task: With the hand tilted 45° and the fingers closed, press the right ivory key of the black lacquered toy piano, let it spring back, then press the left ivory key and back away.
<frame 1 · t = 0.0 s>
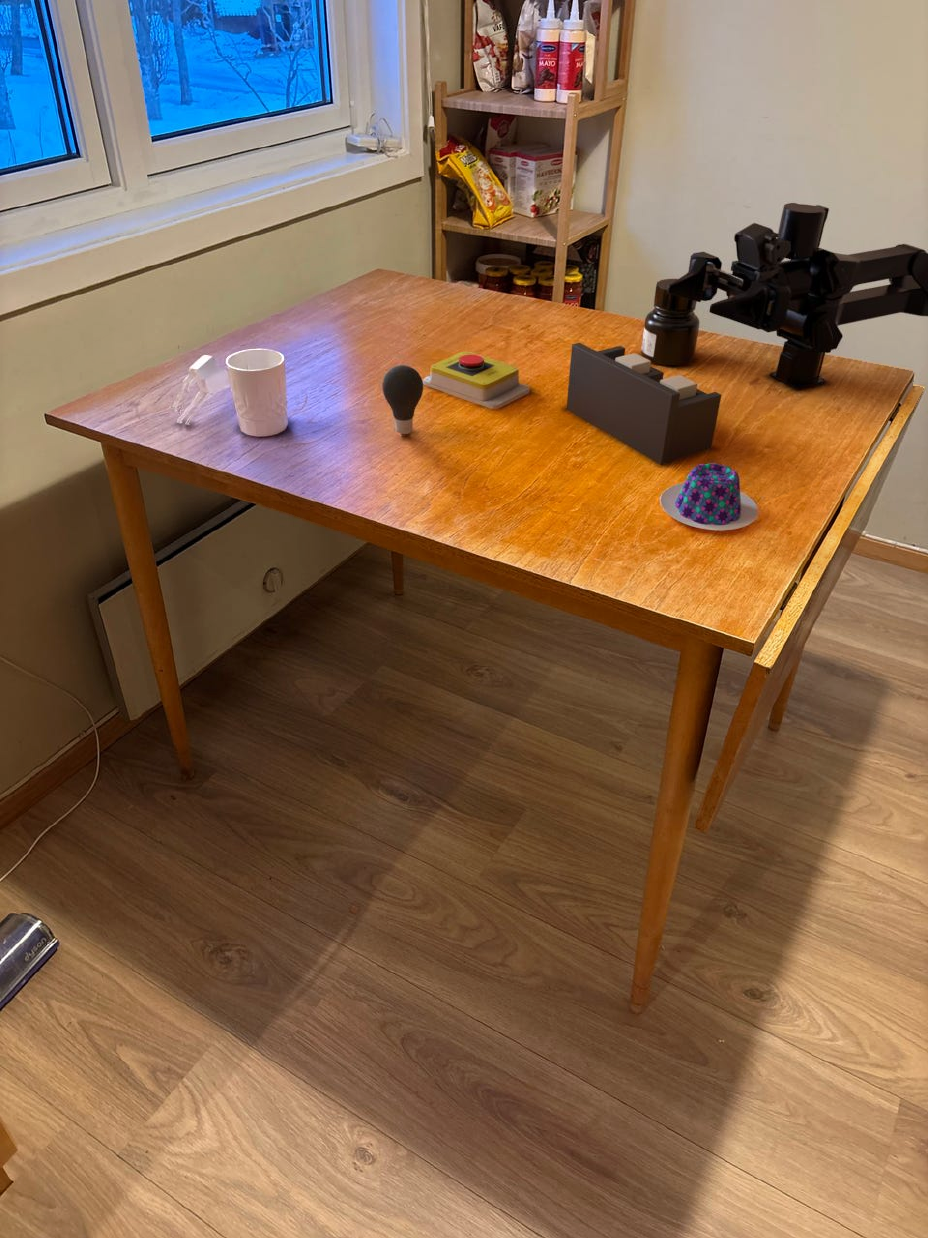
hand: (689, 298, 129), 17 cm above the table, tool horizontal, fingers open, 9 cm apart
emergency button: (475, 388, 144), on the table
piano section 2: (661, 439, 130), on the table
key 2: (677, 388, 127), point 7 cm above the table, slide at 0.1 cm
piano section 1: (618, 415, 137), on the table
white cup: (264, 428, 132), on the table
ink bottle: (666, 358, 155), on the table
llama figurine: (218, 404, 138), on the table
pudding: (707, 511, 115), on the table
light bulb: (404, 435, 131), on the table
key 1: (632, 365, 133), point 7 cm above the table, slide at 0.1 cm
piano case: (639, 427, 134), on the table
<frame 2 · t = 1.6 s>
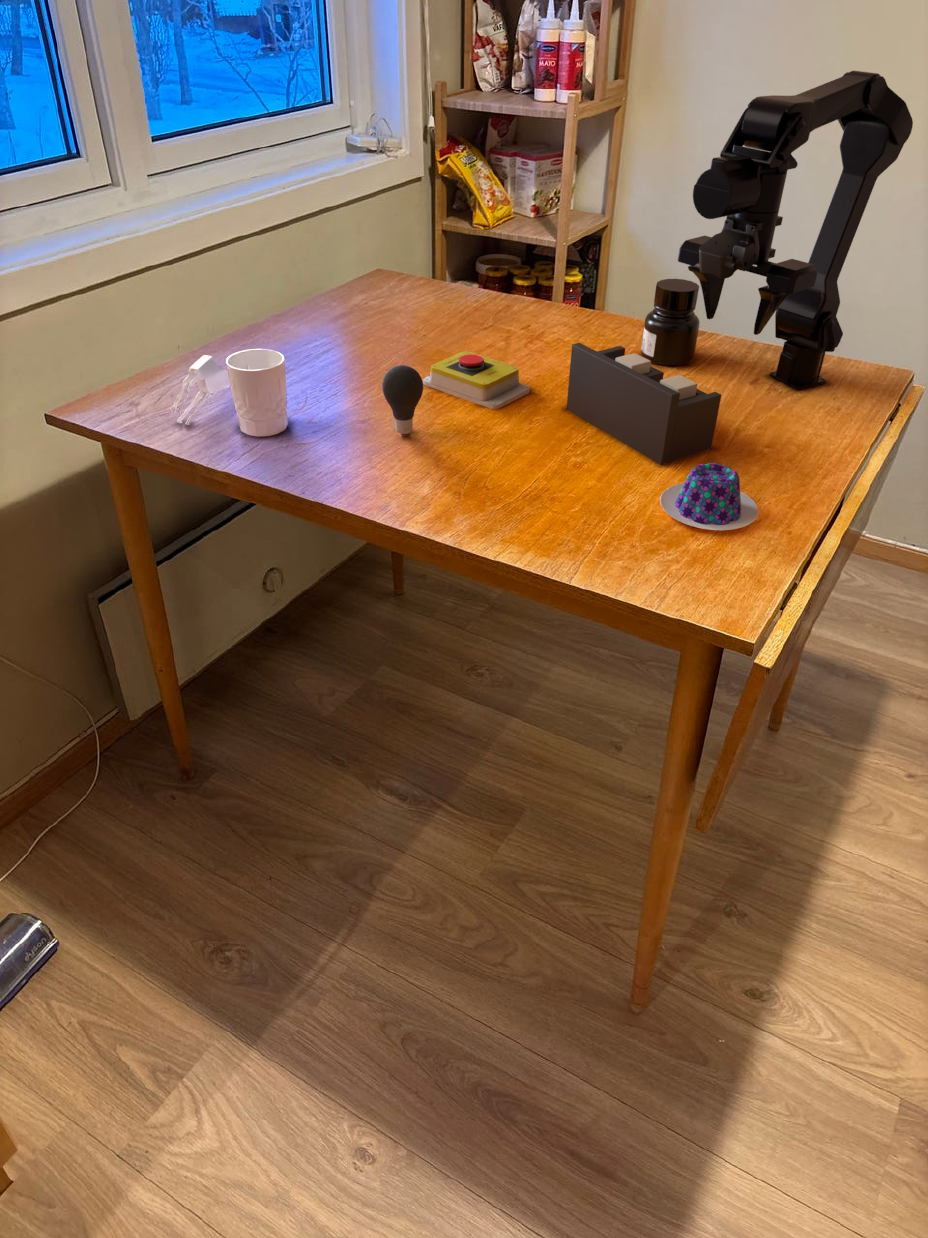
hand: (732, 326, 130), 13 cm above the table, tool pointing down, fingers open, 8 cm apart
nothing on the table moved.
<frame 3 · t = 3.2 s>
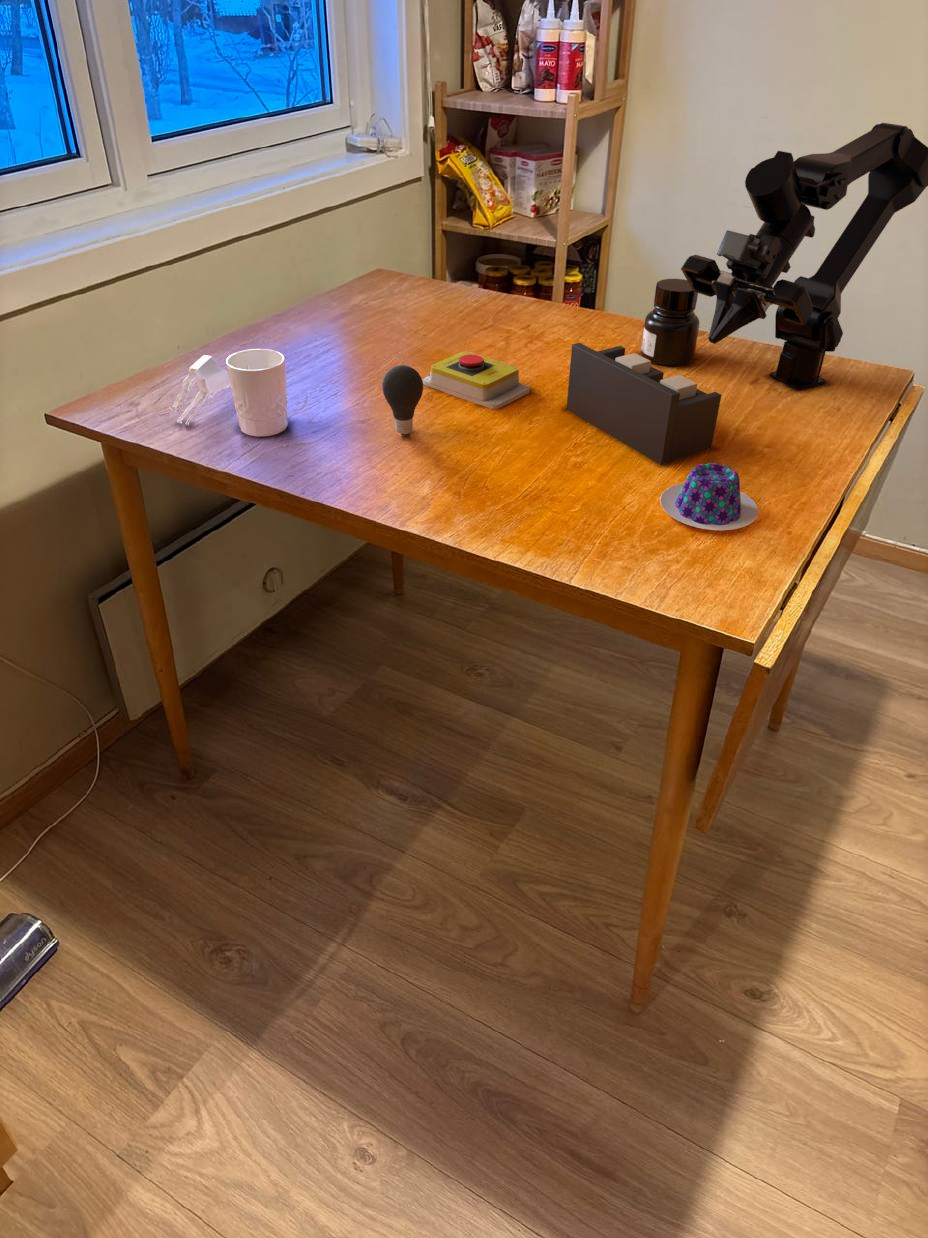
hand: (711, 341, 127), 12 cm above the table, tool tilted 45°, fingers closed
nothing on the table moved.
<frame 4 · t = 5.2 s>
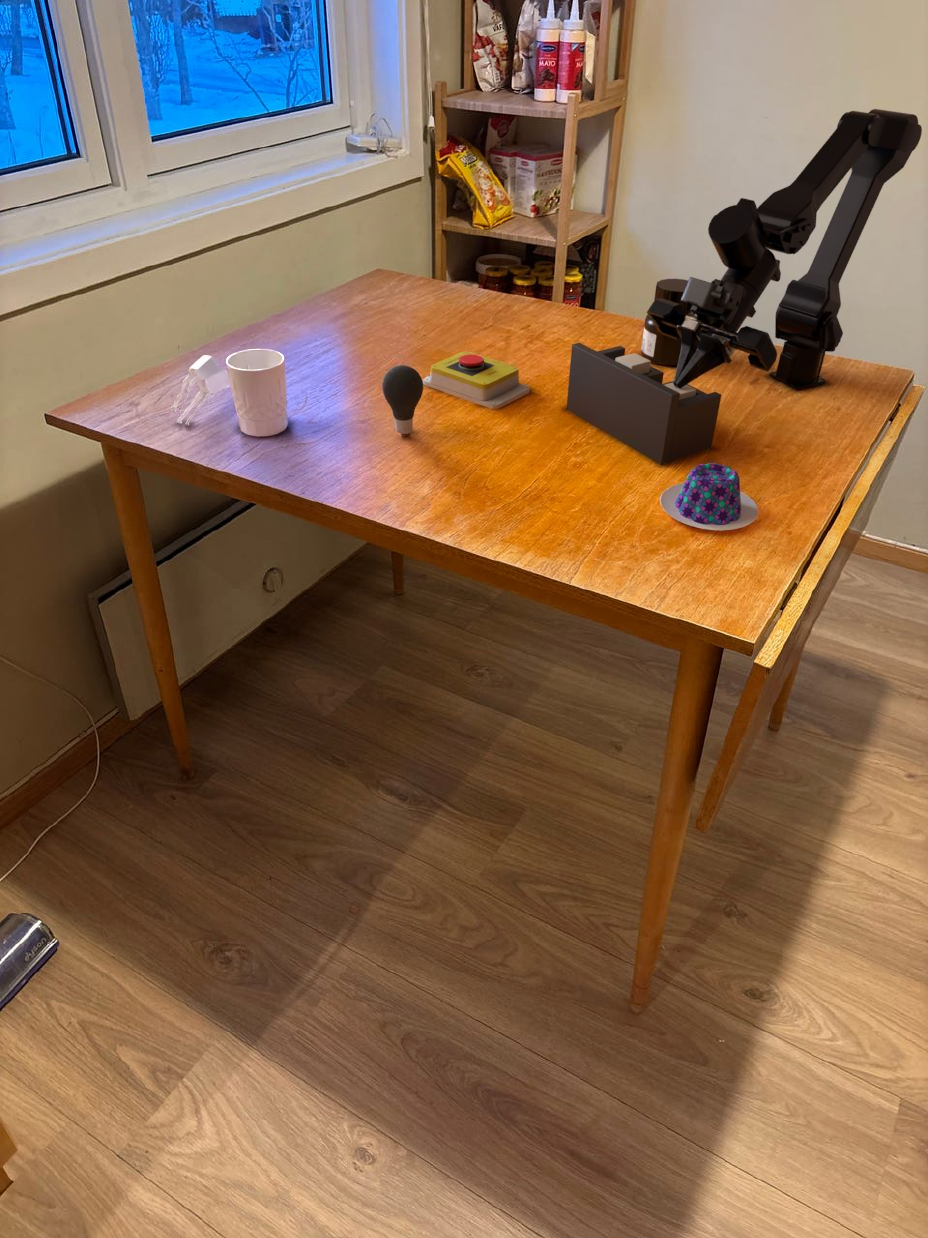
hand: (676, 386, 126), 8 cm above the table, tool tilted 45°, fingers closed, pressing on key 2
key 2: (676, 394, 127), point 6 cm above the table, slide at -0.8 cm, touching gripper
everything else where it was.
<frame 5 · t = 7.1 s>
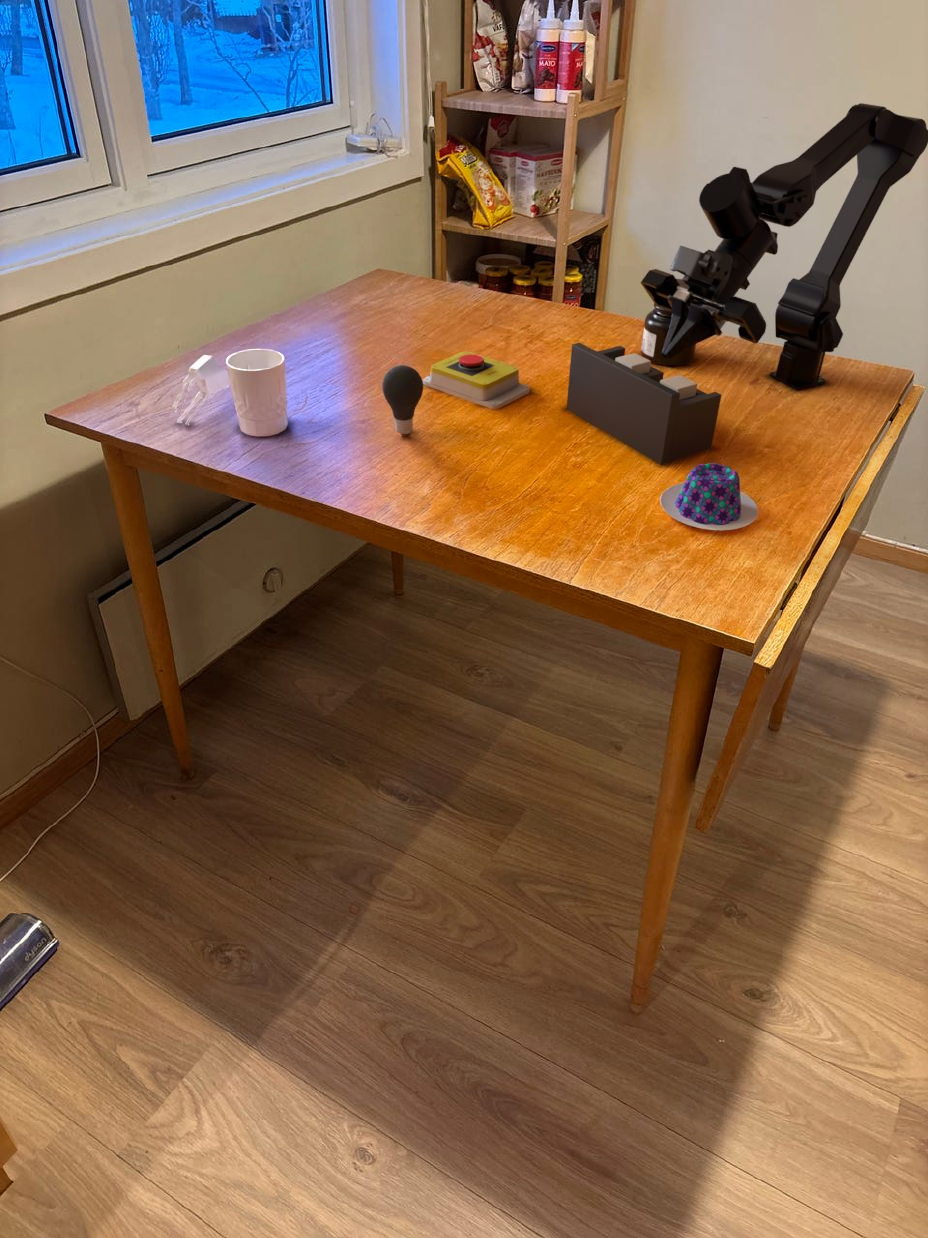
hand: (664, 356, 126), 11 cm above the table, tool tilted 45°, fingers closed
key 2: (677, 388, 127), point 7 cm above the table, slide at 0.1 cm
everything else where it was.
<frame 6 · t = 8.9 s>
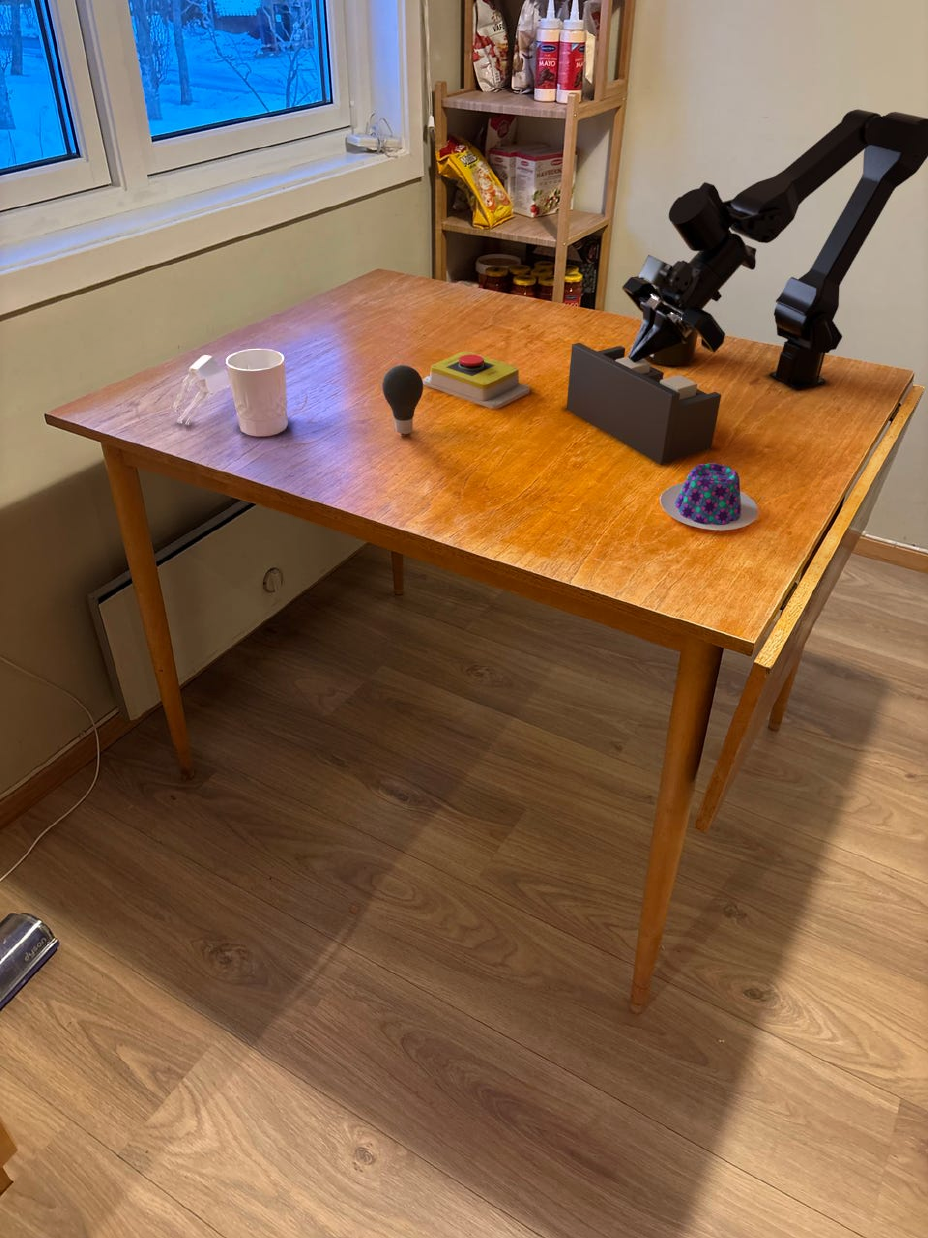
hand: (631, 359, 132), 8 cm above the table, tool tilted 45°, fingers closed, pressing on key 1
key 1: (632, 367, 133), point 7 cm above the table, slide at -0.3 cm, touching gripper
everything else where it was.
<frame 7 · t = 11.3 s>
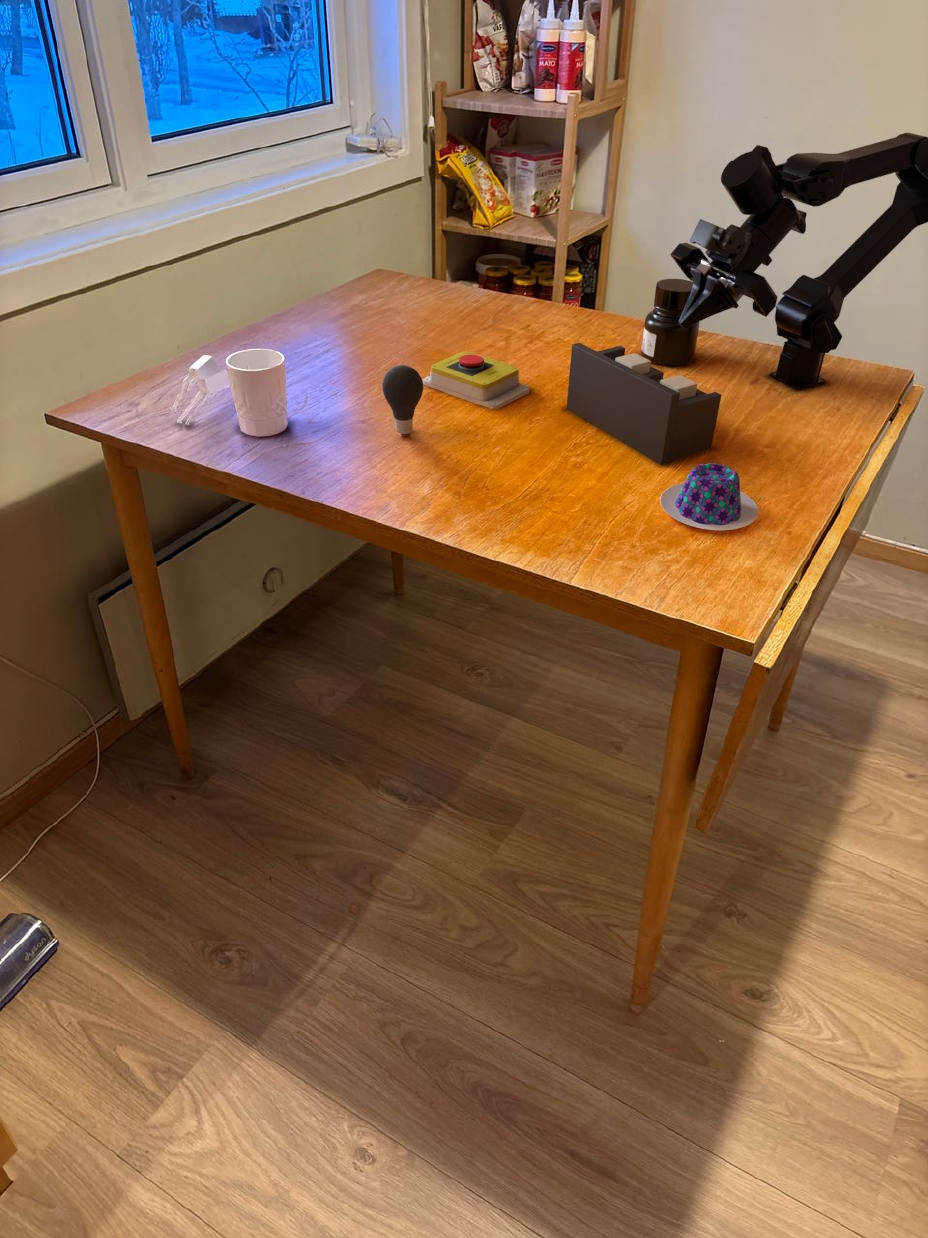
hand: (681, 325, 133), 12 cm above the table, tool tilted 45°, fingers closed
key 1: (632, 365, 133), point 7 cm above the table, slide at 0.1 cm
everything else where it was.
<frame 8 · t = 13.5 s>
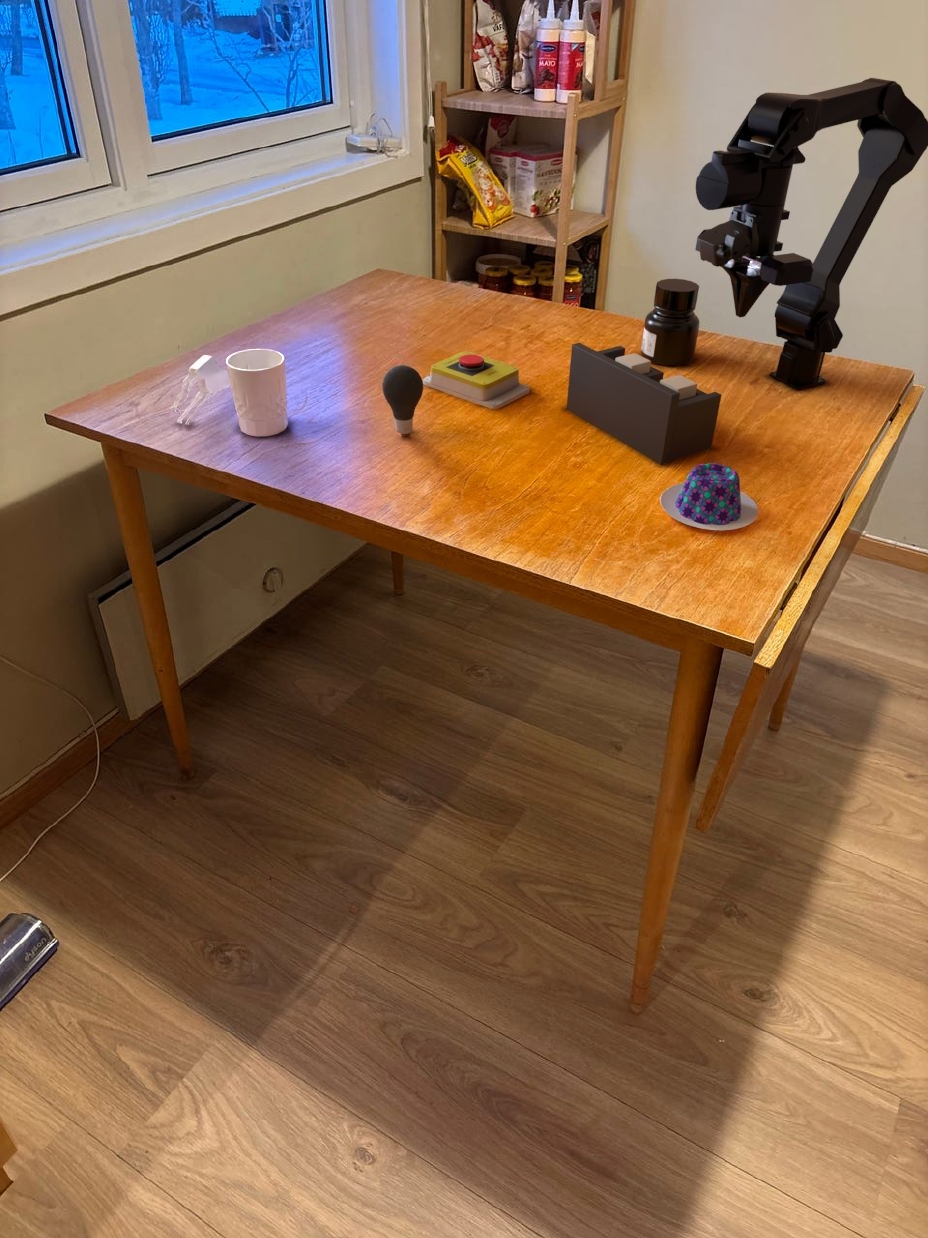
hand: (740, 316, 134), 13 cm above the table, tool pointing down, fingers closed
nothing on the table moved.
at the end: key 2 pushed in 1.1 cm at the most during the clip, back to where it started at the end; key 1 pushed in 1.1 cm at the most during the clip, back to where it started at the end; key 1 slide at 0.1 cm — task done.
